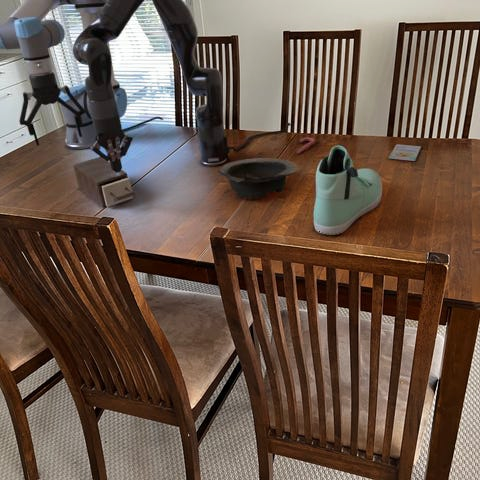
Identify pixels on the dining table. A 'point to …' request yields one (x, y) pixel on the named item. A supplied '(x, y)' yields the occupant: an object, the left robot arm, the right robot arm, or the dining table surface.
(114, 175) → the cabinet
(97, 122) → the right robot arm
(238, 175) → the stone bowl
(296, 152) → the candy cane
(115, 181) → the drawer
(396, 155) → the baking ingredient package
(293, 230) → the dining table surface
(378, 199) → the sneaker
